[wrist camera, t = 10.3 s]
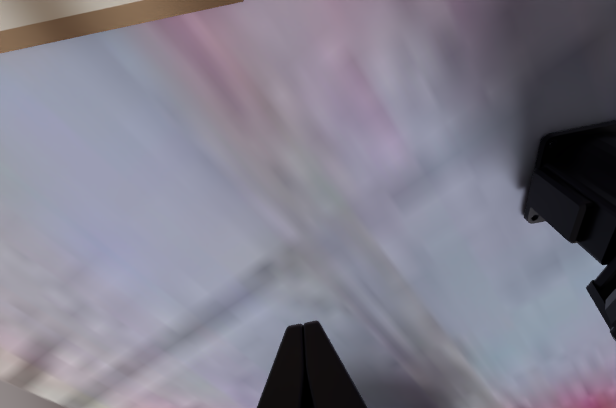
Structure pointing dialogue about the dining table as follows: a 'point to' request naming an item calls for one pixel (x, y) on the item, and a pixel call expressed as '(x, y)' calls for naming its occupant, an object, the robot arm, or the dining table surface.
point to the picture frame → (83, 17)
